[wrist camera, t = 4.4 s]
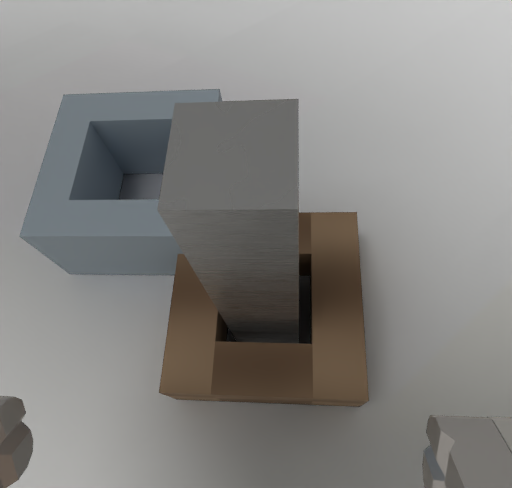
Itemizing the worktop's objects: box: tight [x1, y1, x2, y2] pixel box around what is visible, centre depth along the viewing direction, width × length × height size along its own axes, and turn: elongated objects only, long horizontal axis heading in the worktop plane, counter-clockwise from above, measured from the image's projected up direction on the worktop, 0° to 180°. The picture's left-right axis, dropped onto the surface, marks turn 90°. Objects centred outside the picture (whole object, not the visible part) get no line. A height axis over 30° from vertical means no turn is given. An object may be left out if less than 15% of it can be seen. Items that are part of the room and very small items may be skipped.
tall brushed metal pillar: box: [157, 99, 299, 344], centre depth 17 cm, size 3×3×14 cm
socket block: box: [159, 212, 369, 407], centre depth 21 cm, size 9×9×3 cm
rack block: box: [20, 89, 222, 275], centre depth 24 cm, size 9×9×5 cm
